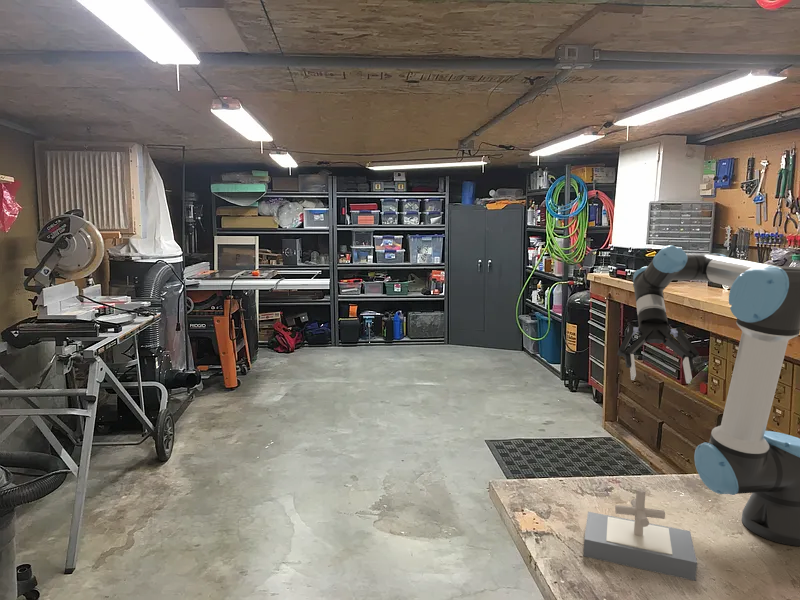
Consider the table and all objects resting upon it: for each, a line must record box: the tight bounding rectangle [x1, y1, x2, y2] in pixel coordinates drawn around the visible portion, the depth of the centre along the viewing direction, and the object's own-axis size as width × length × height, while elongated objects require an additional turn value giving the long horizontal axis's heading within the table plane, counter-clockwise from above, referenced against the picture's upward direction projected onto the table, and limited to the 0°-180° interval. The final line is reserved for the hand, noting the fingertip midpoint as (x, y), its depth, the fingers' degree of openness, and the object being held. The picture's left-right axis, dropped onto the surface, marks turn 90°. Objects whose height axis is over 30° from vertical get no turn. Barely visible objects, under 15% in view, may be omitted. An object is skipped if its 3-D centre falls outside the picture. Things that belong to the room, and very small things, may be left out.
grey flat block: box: [582, 511, 698, 582], centre depth 123 cm, size 22×13×4 cm, turn 68°
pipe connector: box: [615, 488, 666, 536], centre depth 123 cm, size 10×10×10 cm
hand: (661, 379), depth 145 cm, fingers open, 13 cm apart
